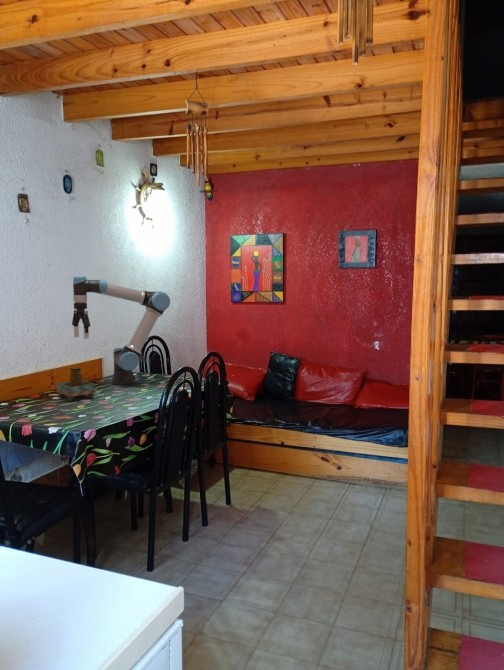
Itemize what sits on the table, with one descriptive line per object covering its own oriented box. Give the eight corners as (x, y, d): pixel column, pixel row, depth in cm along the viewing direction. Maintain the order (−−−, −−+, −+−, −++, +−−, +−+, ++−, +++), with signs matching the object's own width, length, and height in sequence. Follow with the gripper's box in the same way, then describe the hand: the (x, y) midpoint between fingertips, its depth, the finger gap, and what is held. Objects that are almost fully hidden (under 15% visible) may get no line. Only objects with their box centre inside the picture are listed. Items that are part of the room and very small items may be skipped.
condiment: (80, 387, 302) (79, 366, 301) (85, 389, 296) (84, 368, 295) (67, 389, 298) (66, 367, 297) (72, 391, 291) (71, 369, 290)
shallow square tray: (82, 393, 309) (81, 380, 309) (95, 398, 297) (95, 384, 296) (56, 397, 299) (56, 383, 299) (69, 402, 287) (68, 387, 286)
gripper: (65, 302, 324) (66, 336, 325) (83, 302, 305) (84, 339, 307) (77, 301, 329) (78, 336, 330) (95, 302, 310) (96, 338, 312)
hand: (81, 337), depth 319 cm, fingers open, 13 cm apart
